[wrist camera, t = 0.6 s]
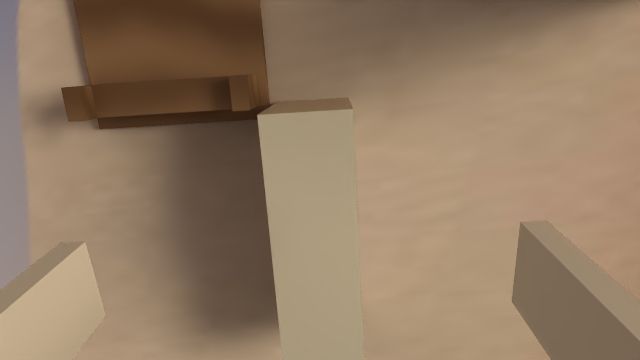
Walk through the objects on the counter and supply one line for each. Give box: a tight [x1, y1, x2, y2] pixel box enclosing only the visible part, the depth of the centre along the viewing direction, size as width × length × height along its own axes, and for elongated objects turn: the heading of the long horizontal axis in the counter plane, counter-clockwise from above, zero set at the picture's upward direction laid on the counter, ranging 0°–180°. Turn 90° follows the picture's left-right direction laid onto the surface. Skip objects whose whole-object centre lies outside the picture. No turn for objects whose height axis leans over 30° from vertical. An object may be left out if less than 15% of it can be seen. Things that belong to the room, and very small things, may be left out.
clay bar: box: [257, 98, 364, 360], centre depth 28 cm, size 16×5×8 cm, turn 4°
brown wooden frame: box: [61, 0, 270, 129], centre depth 26 cm, size 14×12×5 cm
